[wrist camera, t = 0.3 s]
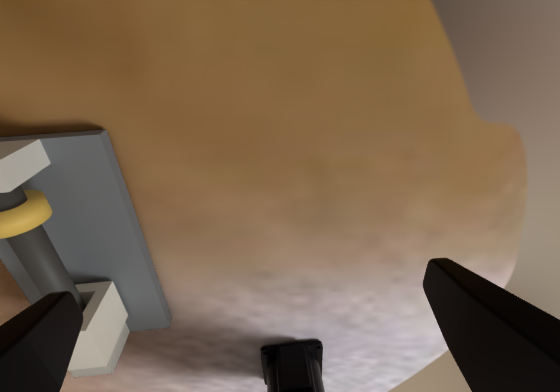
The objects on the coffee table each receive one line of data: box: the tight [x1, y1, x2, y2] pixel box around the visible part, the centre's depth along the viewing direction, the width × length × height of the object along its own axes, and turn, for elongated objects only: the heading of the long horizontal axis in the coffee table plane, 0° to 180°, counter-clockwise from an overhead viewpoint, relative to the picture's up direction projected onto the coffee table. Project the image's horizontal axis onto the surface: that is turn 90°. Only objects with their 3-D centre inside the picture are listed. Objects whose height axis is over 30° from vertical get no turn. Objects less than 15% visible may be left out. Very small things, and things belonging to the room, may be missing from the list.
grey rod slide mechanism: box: [0, 130, 172, 378], centre depth 21 cm, size 18×10×5 cm, turn 3°
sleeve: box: [67, 281, 128, 371], centre depth 22 cm, size 4×4×4 cm
